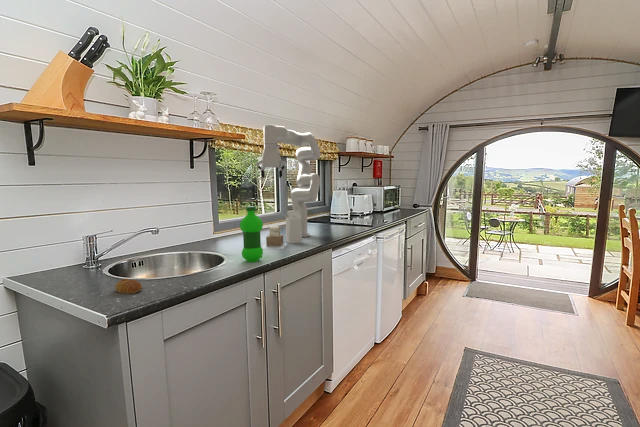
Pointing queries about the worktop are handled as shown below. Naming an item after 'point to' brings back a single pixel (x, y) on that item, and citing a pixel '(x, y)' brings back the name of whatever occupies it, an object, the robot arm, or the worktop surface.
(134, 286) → the pastry
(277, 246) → the blueprint board
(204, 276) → the worktop surface
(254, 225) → the plastic bottle
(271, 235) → the cream cube
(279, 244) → the walnut base block
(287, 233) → the milk carton
